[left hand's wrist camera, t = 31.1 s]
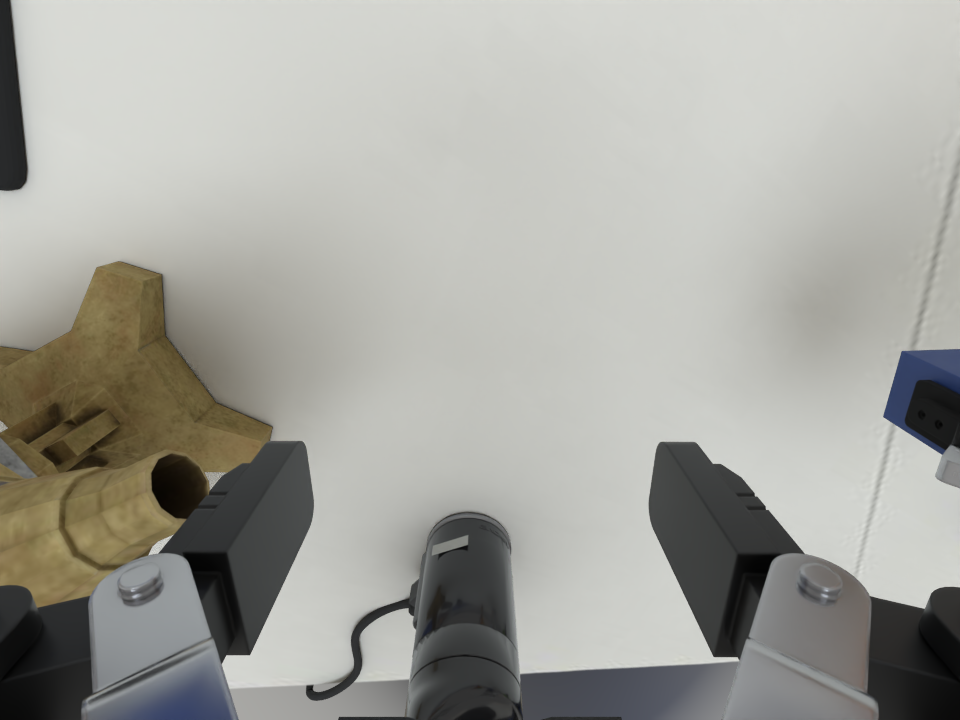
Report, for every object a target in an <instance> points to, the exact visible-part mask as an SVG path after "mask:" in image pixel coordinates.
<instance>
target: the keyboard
mask: <svg viewBox="0 0 960 720" xmlns="http://www.w3.org/2000/svg"><path fill="white" fill-rule="evenodd" d="M25 177H26V162H25V153H24V143H23V133H22V124H21V114H20V105H19V95H18V85H17V76H16V66H15V56H14V47H13V37H12V28H11V18H10V8H9V0H0V190H5V191H9V190H16V189H20V187H21V186H22V185H23V183H24V182H25Z"/></svg>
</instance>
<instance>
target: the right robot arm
mask: <svg viewBox="0 0 960 720" xmlns="http://www.w3.org/2000/svg"><path fill="white" fill-rule="evenodd" d="M905 424H906V426H907V427H909V428H910V429H912V430H914V431H915V432H917V433H918V434H920V435H922V436H923V437H925V438H926V439H928V440H930V441H931V442H933V443H934V444H936V445H938V446H939V447H941V448H942V449H944V450H946V451H945V452H944V453H943V455H942V458H941V460H940V463H939V466H938V469H937V472H936V474H935V477H936V478H937V479H938V480H940V481H942V482H944V483H946V484H949V485H952V486H955V487H958V488H960V394H958V393H956V392H954V391H952V390H950V389H948V388H946V387H944V386H942V385H940V384H938V383H936V382H934V381H932V380H918V381H917V382H916V384H915V388H914V391H913V394H912V397H911V400H910V404H909V407H908V410H907V413H906V416H905Z"/></svg>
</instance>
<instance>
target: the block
mask: <svg viewBox="0 0 960 720" xmlns="http://www.w3.org/2000/svg"><path fill="white" fill-rule="evenodd" d="M918 380H932V381H934V382H936V383H938V384H940V385H942V386H944V387H946V388H948V389H950V390H952V391H954V392H956V393H958V394H960V349H950V350H920V351H902V352H901V356H900V359H899V363H898V366H897V370H896V373H895V377H894V381H893V384H892V388H891V391H890V395H889V398H888V402H887V405H886V409H885V412H884V416H883V417H884V418H886V419H887V420H889V421H890V422H892V423H893V424H895V425H897V426H898V427H900V428H901V429H903V430H904V431H906V432H907V433H909V434H911V435H912V436H914V437H915V438H917V439H918V440H920V441H922V442H923V443H925V444H926V445H928V446H929V447H931V448H932V449H934V450H936V451H937V452H939V453H940V454H942V455H943V453H944V452H945V451H946V450H944V449H942V448H941V447H939V446H938V445H936V444H934V443H933V442H931V441H930V440H928V439H926V438H925V437H923V436H922V435H920V434H918V433H917V432H915V431H914V430H912V429H910V428H909V427H907V426H906V424H905V416H906V413H907V410H908V407H909V404H910V400H911V397H912V394H913V391H914V388H915V384H916V382H917V381H918Z"/></svg>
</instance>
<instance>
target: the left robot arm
mask: <svg viewBox="0 0 960 720" xmlns="http://www.w3.org/2000/svg"><path fill="white" fill-rule="evenodd" d="M313 510H314V499H313V491H312V484H311V477H310V470H309V463H308V456H307V450H306V446H305V444H304V443H303V442H302V441H268V442H266V443H265V444H264V446H263V447H262V448H261V450H260V451H259V452H258V454H257V455H256V456H255V458H254V459H253V460H252V461H251V463H242V464H240V465H239V466H237V467H236V468H234V469H233V470H231V471H229V472H228V473H226V474H225V475H223V476H222V477H221V478H220V479H219V481H218V482H217V483H216V484H215V485H214V487H213V488H212V489H211V490H210V491H209V495H208V496H205V498H204V499H203V500H202V501H201V502H200V504H199V505H198V509H195V510H194V511H193V512H192V513H191V515H190V516H189V517H188V518H187V519H186V521H185V522H184V523H183V524H182V525H181V527H180V528H179V529H178V530H177V532H176V533H175V534H174V535H173V536H172V538H171V539H170V540H169V541H168V542H167V544H166V545H165V546H164V547H163V549H162V550H161V551H160V552H159V553H158V554H153V555H149V556H145V557H142V558H139V559H136V560H133V561H131V562H129V563H127V564H125V565H123V566H121V567H119V568H118V569H116V570H114V571H113V572H112V573H110V574H109V575H108V576H106V577H105V578H104V579H103V580H102V581H101V582H100V583H99V584H98V585H97V586H96V587H95V589H94V590H93V592H92V593H91V595H90V596H86V597H82V598H78V599H73V600H69V601H65V602H60V603H56V604H52V605H47V606H43V607H38V608H37V606H36V604H35V601H34V599H33V596H32V594H31V592H30V591H29V590H28V589H27V588H25V587H23V586H18V585H4V586H0V720H239V719H238V716H237V713H236V710H235V706H234V703H233V700H232V697H231V693H230V690H229V687H228V684H227V680H226V677H225V674H224V671H223V668H222V662H223V661H224V659H225V657H226V655H250V654H251V652H252V650H253V648H254V645H255V643H256V641H257V639H258V637H259V635H260V633H261V630H262V628H263V626H264V624H265V622H266V620H267V618H268V615H269V613H270V611H271V609H272V607H273V605H274V603H275V600H276V598H277V596H278V594H279V592H280V590H281V588H282V585H283V583H284V581H285V579H286V577H287V575H288V573H289V570H290V568H291V566H292V564H293V562H294V560H295V558H296V556H297V553H298V551H299V549H300V547H301V545H302V543H303V541H304V538H305V536H306V534H307V532H308V530H309V528H310V525H311V522H312V517H313ZM649 515H650V520H651V524H652V527H653V530H654V532H655V534H656V536H657V538H658V540H659V542H660V544H661V547H662V549H663V551H664V553H665V555H666V557H667V559H668V561H669V563H670V566H671V568H672V570H673V572H674V574H675V576H676V578H677V580H678V582H679V585H680V587H681V589H682V591H683V593H684V595H685V597H686V599H687V601H688V604H689V606H690V608H691V610H692V612H693V614H694V616H695V618H696V620H697V623H698V625H699V627H700V629H701V631H702V633H703V635H704V637H705V640H706V642H707V644H708V646H709V648H710V650H711V652H712V654H713V656H714V657H738V659H739V660H740V661H739V664H738V668H737V671H736V674H735V677H734V680H733V684H732V687H731V690H730V693H729V697H728V700H727V703H726V706H725V710H724V713H723V716H722V719H721V720H960V588H959V587H943V588H939V589H937V590H934V591H933V592H932V593H931V596H930V598H929V600H928V603H927V605H926V608H925V609H922V608H918V607H914V606H909V605H905V604H901V603H896V602H892V601H888V600H883V599H879V598H875V597H871V596H869V593H868V592H867V590H866V589H865V587H864V586H863V585H862V584H861V583H860V582H859V581H858V580H857V579H856V578H855V577H854V576H852V575H851V574H850V573H848V572H847V571H846V570H844V569H842V568H841V567H839V566H837V565H835V564H833V563H831V562H829V561H827V560H824V559H821V558H818V557H815V556H811V555H807V554H804V552H803V551H802V550H801V549H800V548H799V546H798V545H797V544H796V543H795V541H794V540H793V539H792V538H791V537H790V535H789V534H788V533H787V532H786V531H785V529H784V528H783V527H782V526H781V525H780V523H779V522H778V521H777V520H776V519H775V517H774V516H773V515H772V514H771V513H770V511H769V510H766V507H765V505H764V504H763V503H762V502H761V501H760V499H759V498H758V497H755V493H754V492H753V491H752V490H751V489H750V487H749V486H748V485H747V484H746V482H745V481H744V480H743V479H742V478H741V477H740V476H738V475H737V474H735V473H734V472H732V471H731V470H729V469H728V468H726V467H725V466H723V465H721V464H712V462H711V461H710V460H709V458H708V457H707V456H706V454H705V453H704V452H703V451H702V449H701V448H700V447H699V445H698V444H697V443H695V442H660V443H659V444H658V446H657V449H656V454H655V461H654V468H653V475H652V482H651V489H650V496H649ZM404 608H409V613H410V614H411V615H412V616H414V618H413V626H414V628H415V629H416V635H415V643H414V650H413V658H412V666H411V673H410V680H409V688H408V695H407V703H406V711H405V717H339V719H338V720H523V708H522V696H521V682H520V669H519V658H518V645H517V632H516V619H515V606H514V593H513V581H512V567H511V543H510V539H509V536H508V534H507V532H506V530H505V529H504V528H503V527H502V526H501V525H500V524H499V523H498V522H497V521H495V520H493V519H492V518H490V517H487V516H484V515H481V514H476V513H461V514H456V515H453V516H450V517H448V518H446V519H444V520H442V521H441V522H439V523H438V524H437V525H436V526H435V527H434V528H433V530H432V531H431V533H430V535H429V538H428V542H427V552H426V553H425V554H423V557H422V563H421V570H420V577H419V579H418V580H417V581H416V582H415V583H414V584H413V585H412V587H411V593H410V599H409V600H403V601H400V602H396V603H393V604H390V605H387V606H384V607H382V608H379V609H377V610H375V611H373V612H372V613H370V614H369V615H368V616H366V617H365V618H364V619H363V620H362V621H361V622H360V623H359V624H358V625H357V626H356V628H355V629H354V631H353V634H352V637H351V647H352V652H353V657H354V670H353V672H352V673H351V674H350V676H349V677H347V678H346V679H345V680H344V681H343V682H341V683H340V684H338V685H337V686H335V687H333V688H331V689H329V690H326V691H323V692H314V691H313V686H314V685H306V695H307V697H308V698H309V699H311V700H315V701H318V700H324V699H328V698H330V697H333V696H335V695H337V694H338V693H340V692H342V691H343V690H345V689H346V688H347V687H349V686H350V685H351V684H352V683H353V682H354V681H355V680H356V679H357V677H358V676H359V674H360V671H361V668H362V659H361V654H360V649H359V636H360V634H361V632H362V631H363V630H364V629H365V628H366V627H367V626H368V625H369V624H370V623H372V622H373V621H374V620H376V619H378V618H379V617H381V616H383V615H385V614H387V613H390V612H392V611H395V610H399V609H404ZM543 720H622V719H621V717H550V718H546V719H543Z"/></svg>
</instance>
